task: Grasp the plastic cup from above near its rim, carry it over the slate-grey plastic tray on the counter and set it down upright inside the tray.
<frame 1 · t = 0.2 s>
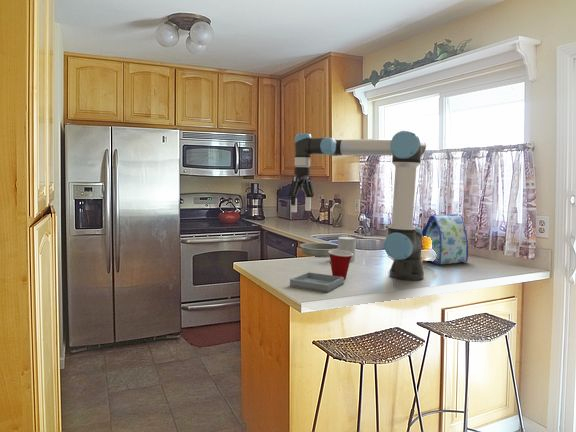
hand: (301, 211, 214), 28 cm above the table, tool pointing down, fingers open, 13 cm apart
tray: (317, 285, 184), on the table
plastic cup: (339, 279, 198), on the table
white cylinder: (346, 261, 240), on the table
cake pan: (320, 253, 261), on the table
lunch bag: (443, 262, 244), on the table
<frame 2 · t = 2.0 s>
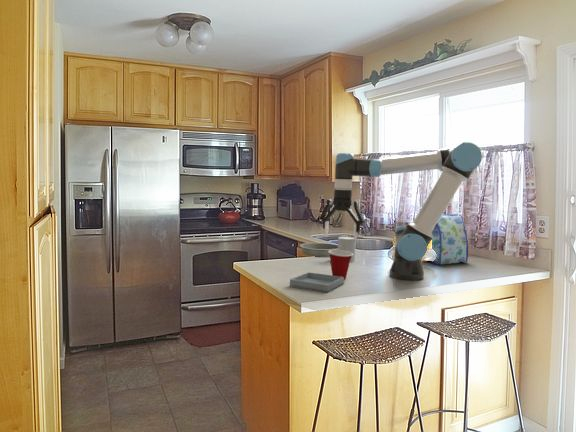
hand: (340, 237, 196), 18 cm above the table, tool pointing down, fingers open, 13 cm apart
nothing on the table moved.
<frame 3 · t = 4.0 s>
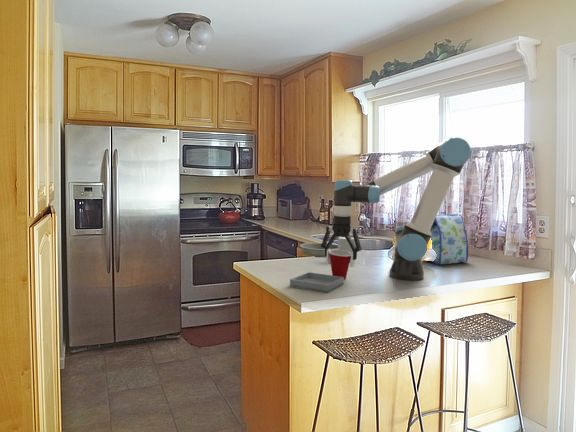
hand: (340, 265, 197), 6 cm above the table, tool pointing down, fingers closed on plastic cup, 11 cm apart
plastic cup: (339, 278, 198), on the table, touching gripper
everything else where it was.
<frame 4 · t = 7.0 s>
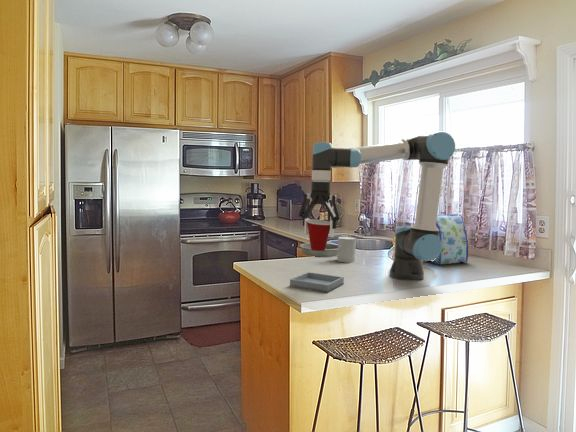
hand: (319, 235, 182), 21 cm above the table, tool pointing down, fingers closed on plastic cup, 11 cm apart
plastic cup: (318, 250, 183), point 15 cm above the table, touching gripper
everything else where it was.
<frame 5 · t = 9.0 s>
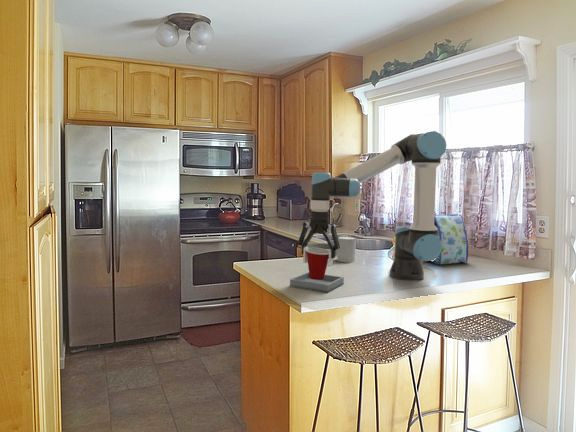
hand: (317, 264, 183), 9 cm above the table, tool pointing down, fingers closed on plastic cup, 11 cm apart
plastic cup: (317, 278, 184), point 3 cm above the table, touching gripper
everything else where it was.
when the fingers open (7 cm above the table, at t = 10.4 s): plastic cup stays where it is, resting on tray.
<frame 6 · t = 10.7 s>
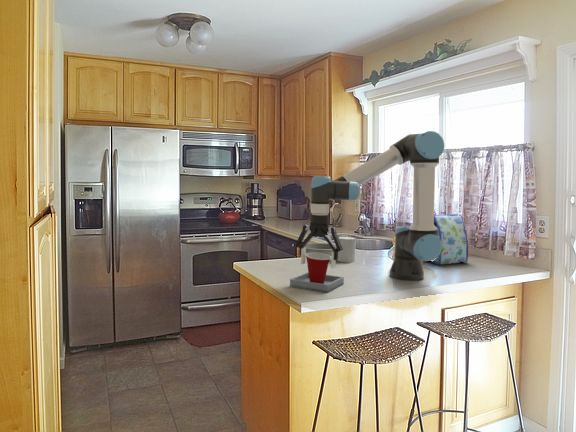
hand: (317, 265, 183), 8 cm above the table, tool pointing down, fingers open, 13 cm apart
plastic cup: (317, 283, 184), point 1 cm above the table, touching tray
everything else where it was.
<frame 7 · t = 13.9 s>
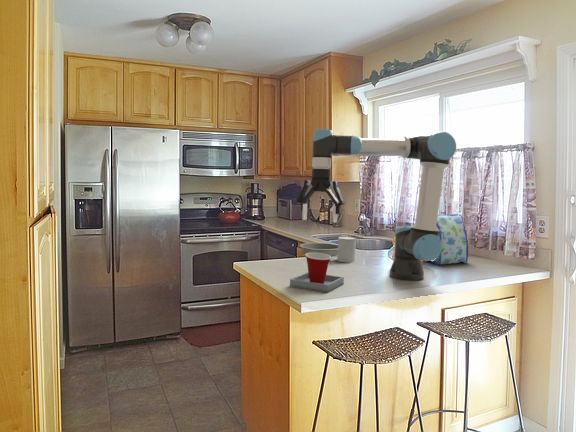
hand: (319, 221, 182), 27 cm above the table, tool pointing down, fingers open, 13 cm apart
nothing on the table moved.
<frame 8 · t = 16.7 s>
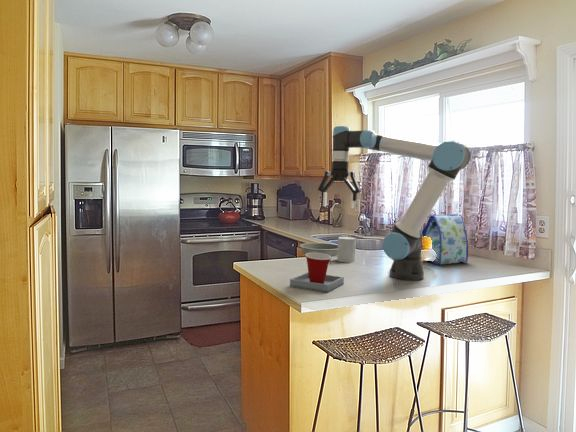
hand: (338, 207, 206), 31 cm above the table, tool pointing down, fingers open, 13 cm apart
nothing on the table moved.
at the end: plastic cup inside the target area on the tray (0.1 cm from its centre), point 0.6 cm above the tray's base; plastic cup tilted 0°; the gripper is holding nothing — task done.
